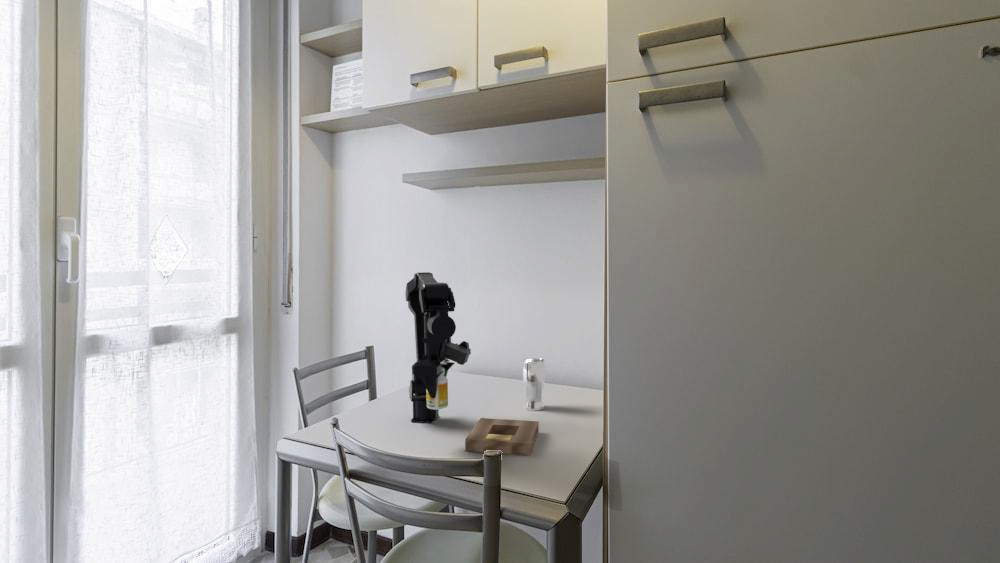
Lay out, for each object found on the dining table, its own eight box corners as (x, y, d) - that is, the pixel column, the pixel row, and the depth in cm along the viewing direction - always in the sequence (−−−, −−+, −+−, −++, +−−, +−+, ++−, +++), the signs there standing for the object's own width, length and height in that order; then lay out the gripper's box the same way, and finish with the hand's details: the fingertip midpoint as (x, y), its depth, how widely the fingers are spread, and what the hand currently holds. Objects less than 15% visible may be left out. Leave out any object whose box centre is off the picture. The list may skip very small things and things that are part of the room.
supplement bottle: (448, 403, 130) (448, 366, 129) (447, 409, 125) (446, 371, 124) (427, 403, 130) (427, 366, 129) (425, 410, 124) (424, 371, 124)
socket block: (465, 451, 123) (465, 438, 123) (480, 428, 139) (480, 416, 139) (530, 455, 120) (530, 442, 120) (538, 432, 136) (538, 420, 135)
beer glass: (527, 412, 153) (526, 363, 152) (520, 405, 159) (519, 358, 158) (548, 410, 155) (548, 361, 154) (540, 403, 161) (540, 357, 160)
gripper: (456, 340, 115) (457, 407, 116) (476, 328, 134) (477, 386, 134) (410, 339, 118) (411, 405, 118) (436, 327, 136) (437, 384, 137)
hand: (437, 394), depth 127 cm, fingers closed on supplement bottle, 5 cm apart
